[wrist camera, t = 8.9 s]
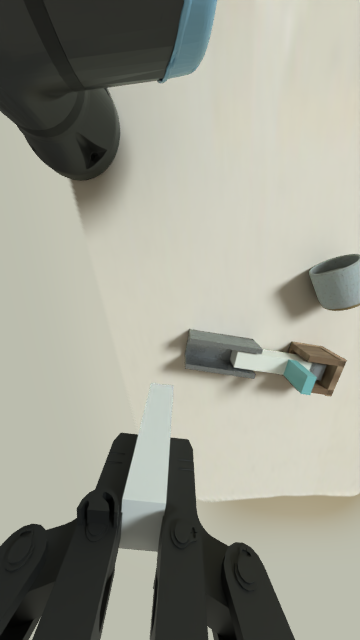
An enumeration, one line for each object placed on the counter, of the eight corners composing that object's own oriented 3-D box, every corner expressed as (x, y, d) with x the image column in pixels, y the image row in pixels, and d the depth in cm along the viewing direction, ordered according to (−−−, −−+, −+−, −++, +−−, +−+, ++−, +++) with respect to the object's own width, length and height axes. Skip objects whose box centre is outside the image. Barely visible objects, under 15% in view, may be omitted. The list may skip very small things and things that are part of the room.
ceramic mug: (313, 308, 40) (343, 317, 33) (299, 273, 38) (328, 274, 31) (363, 283, 39) (406, 287, 32) (352, 245, 37) (395, 240, 30)
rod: (233, 344, 41) (248, 366, 32) (315, 357, 42) (352, 382, 33) (229, 359, 42) (243, 385, 33) (309, 371, 43) (344, 400, 34)
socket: (291, 341, 42) (310, 354, 36) (322, 346, 43) (346, 360, 36) (280, 373, 44) (297, 391, 38) (310, 378, 45) (331, 396, 38)
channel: (189, 329, 42) (190, 338, 36) (252, 339, 42) (263, 349, 37) (184, 355, 43) (185, 368, 38) (245, 365, 44) (254, 378, 39)
